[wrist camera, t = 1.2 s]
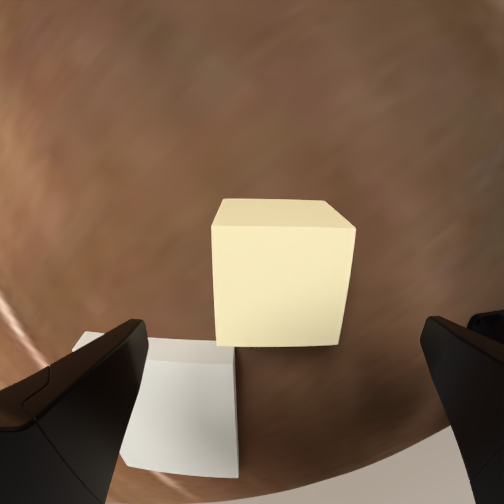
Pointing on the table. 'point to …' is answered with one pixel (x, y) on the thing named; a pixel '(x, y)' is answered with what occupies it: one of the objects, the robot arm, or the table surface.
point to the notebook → (183, 410)
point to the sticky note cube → (280, 272)
